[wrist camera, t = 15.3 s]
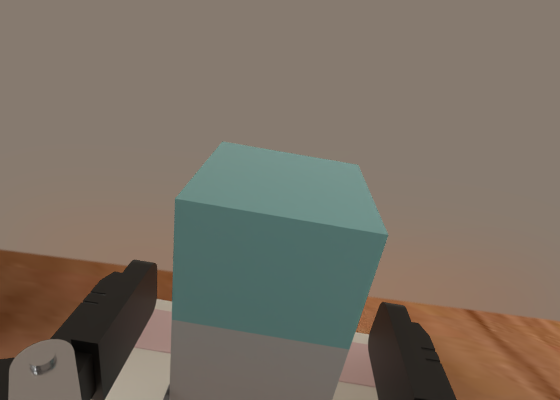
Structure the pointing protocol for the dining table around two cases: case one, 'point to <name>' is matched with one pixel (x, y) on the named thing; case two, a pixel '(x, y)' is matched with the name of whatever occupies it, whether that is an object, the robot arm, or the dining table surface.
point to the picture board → (157, 353)
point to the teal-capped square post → (269, 275)
